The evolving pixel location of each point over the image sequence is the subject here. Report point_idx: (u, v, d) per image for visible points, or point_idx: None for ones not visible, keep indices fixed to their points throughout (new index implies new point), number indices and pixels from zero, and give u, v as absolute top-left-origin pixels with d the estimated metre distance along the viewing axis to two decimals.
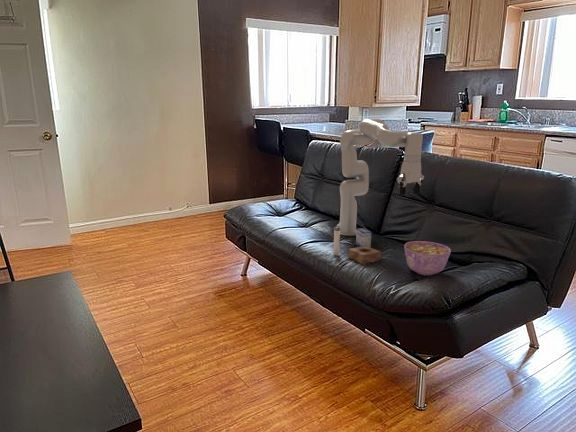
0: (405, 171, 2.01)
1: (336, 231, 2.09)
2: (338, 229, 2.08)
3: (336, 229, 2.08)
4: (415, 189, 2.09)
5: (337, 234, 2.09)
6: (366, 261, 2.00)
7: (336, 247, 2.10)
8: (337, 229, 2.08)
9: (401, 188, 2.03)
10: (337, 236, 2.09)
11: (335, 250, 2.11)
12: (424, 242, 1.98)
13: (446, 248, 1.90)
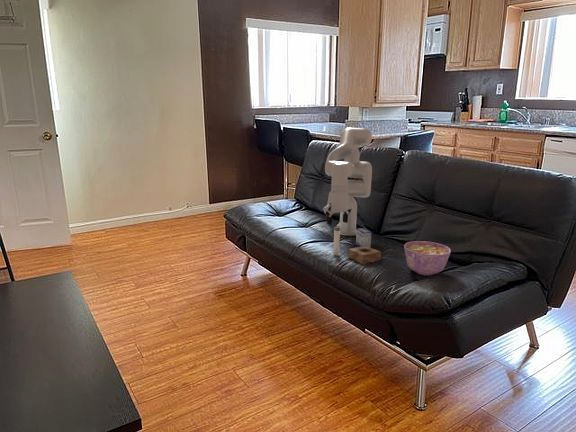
0: (331, 201, 2.03)
1: (336, 231, 2.09)
2: (338, 229, 2.08)
3: (336, 229, 2.08)
4: (344, 218, 2.11)
5: (337, 234, 2.09)
6: (366, 261, 2.00)
7: (336, 247, 2.10)
8: (337, 229, 2.08)
9: (328, 218, 2.05)
10: (337, 236, 2.09)
11: (335, 250, 2.11)
12: (424, 242, 1.98)
13: (446, 248, 1.90)
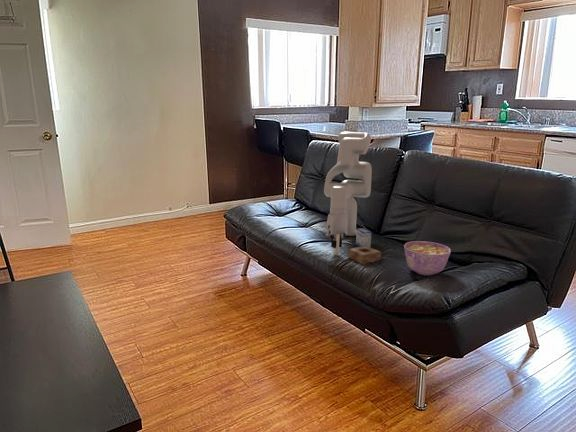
0: (330, 223, 2.06)
1: None
2: None
3: None
4: None
5: (337, 234, 2.09)
6: (366, 261, 2.00)
7: (336, 247, 2.10)
8: None
9: (332, 241, 2.10)
10: (337, 236, 2.09)
11: (335, 250, 2.11)
12: (424, 242, 1.98)
13: (446, 248, 1.90)
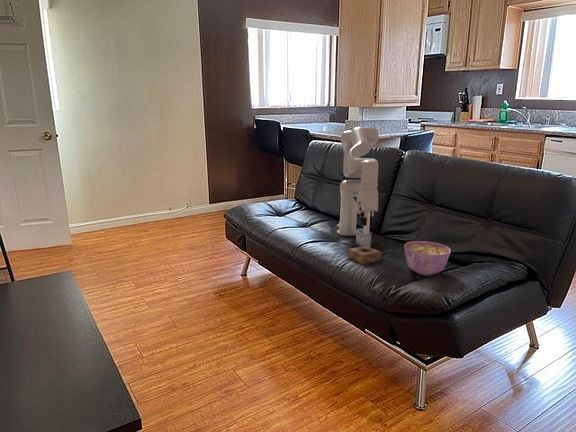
0: (361, 199, 1.96)
1: None
2: None
3: None
4: None
5: (368, 211, 2.00)
6: (366, 261, 2.00)
7: (366, 225, 2.01)
8: None
9: (362, 218, 2.00)
10: (368, 213, 2.00)
11: (365, 228, 2.02)
12: (424, 242, 1.98)
13: (446, 248, 1.90)
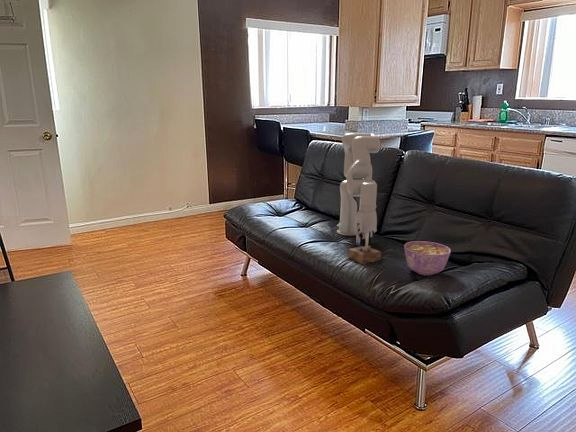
0: (360, 221, 1.99)
1: None
2: None
3: None
4: None
5: (366, 232, 2.02)
6: (366, 261, 2.00)
7: (365, 245, 2.04)
8: None
9: (361, 239, 2.03)
10: (366, 234, 2.02)
11: (364, 249, 2.04)
12: (424, 242, 1.98)
13: (446, 248, 1.90)
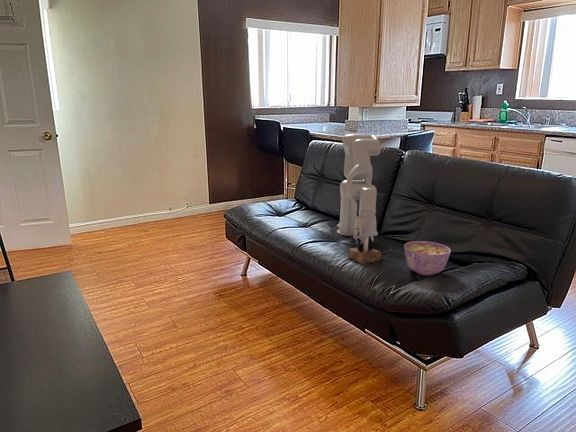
0: (359, 226, 2.00)
1: None
2: None
3: None
4: (368, 245, 2.07)
5: (366, 238, 2.03)
6: (366, 261, 2.00)
7: (365, 251, 2.05)
8: None
9: (359, 244, 2.03)
10: (366, 240, 2.03)
11: None
12: (424, 242, 1.98)
13: (446, 248, 1.90)
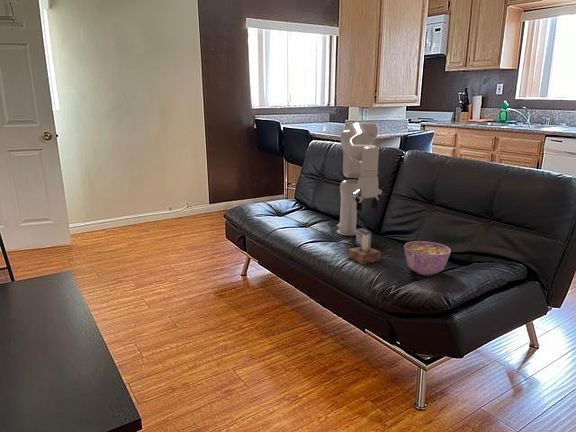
0: (361, 186, 1.96)
1: (365, 235, 2.03)
2: (367, 233, 2.03)
3: (365, 233, 2.02)
4: (373, 204, 2.04)
5: (366, 238, 2.03)
6: (366, 261, 2.00)
7: (365, 251, 2.05)
8: (366, 233, 2.02)
9: (357, 203, 1.98)
10: (366, 240, 2.03)
11: None
12: (424, 242, 1.98)
13: (446, 248, 1.90)
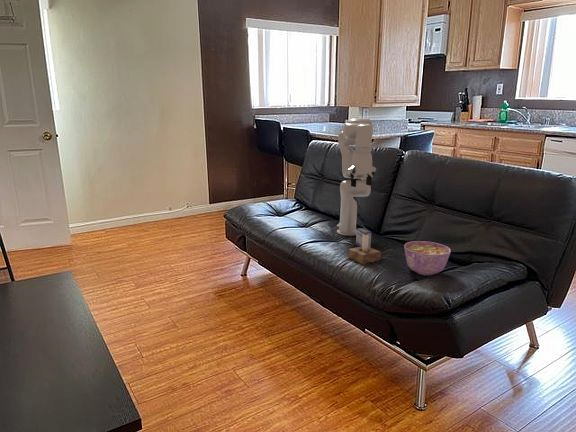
0: (355, 163, 2.03)
1: (365, 235, 2.03)
2: (367, 233, 2.03)
3: (365, 233, 2.02)
4: (367, 181, 2.11)
5: (366, 238, 2.03)
6: (366, 261, 2.00)
7: (365, 251, 2.05)
8: (366, 233, 2.02)
9: (352, 180, 2.05)
10: (366, 240, 2.03)
11: None
12: (424, 242, 1.98)
13: (446, 248, 1.90)
